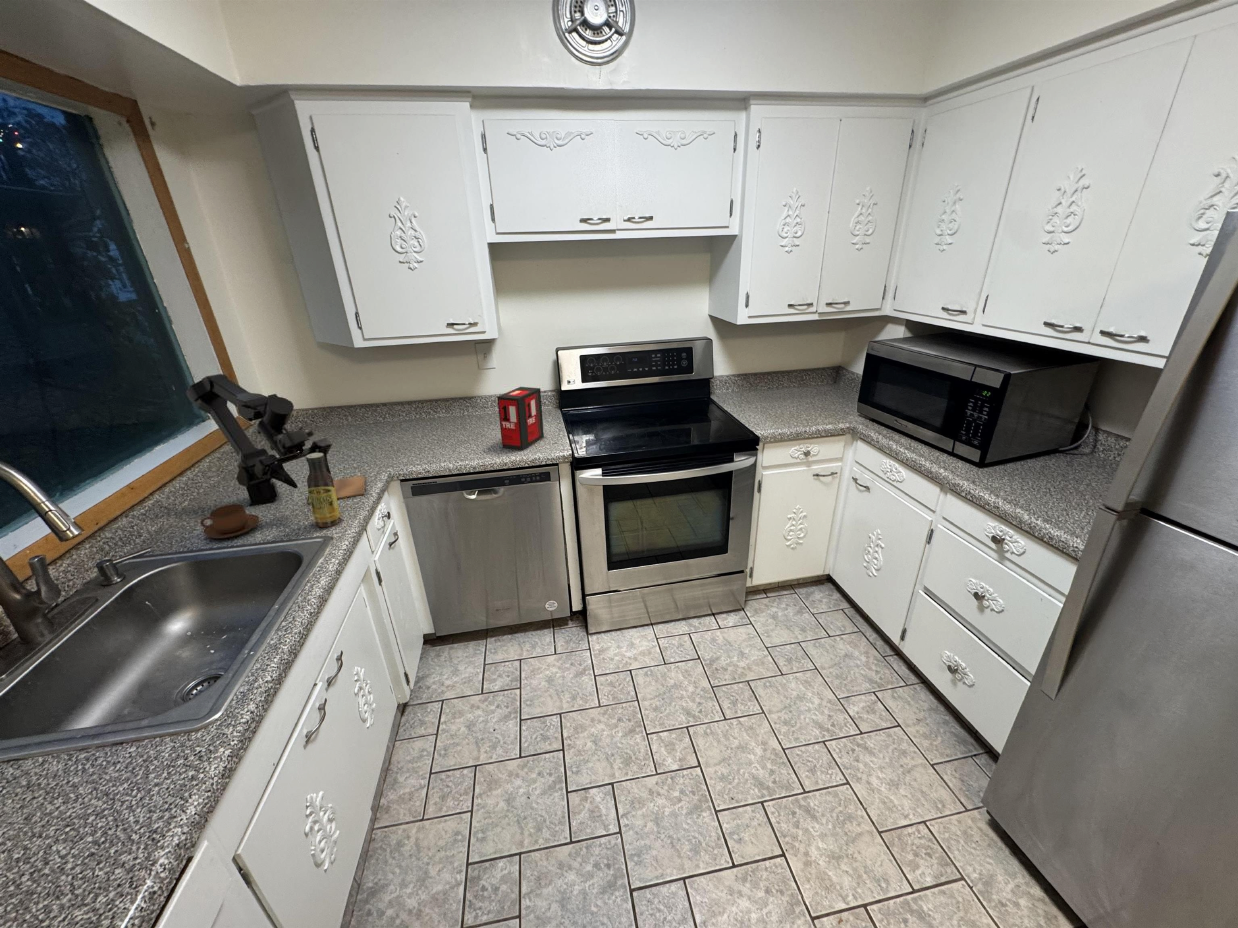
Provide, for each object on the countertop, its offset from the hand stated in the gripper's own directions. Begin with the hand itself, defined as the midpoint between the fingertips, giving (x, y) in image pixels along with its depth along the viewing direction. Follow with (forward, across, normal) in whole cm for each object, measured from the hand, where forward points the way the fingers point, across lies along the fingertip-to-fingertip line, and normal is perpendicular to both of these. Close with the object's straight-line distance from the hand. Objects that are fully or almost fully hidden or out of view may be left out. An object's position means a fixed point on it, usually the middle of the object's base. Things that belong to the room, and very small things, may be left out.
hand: (313, 481), depth 134 cm
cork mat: (-2, +15, +19) cm, 24 cm away
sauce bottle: (+10, 0, +7) cm, 12 cm away
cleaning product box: (+15, +77, +2) cm, 78 cm away
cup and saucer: (-3, -15, +20) cm, 25 cm away
